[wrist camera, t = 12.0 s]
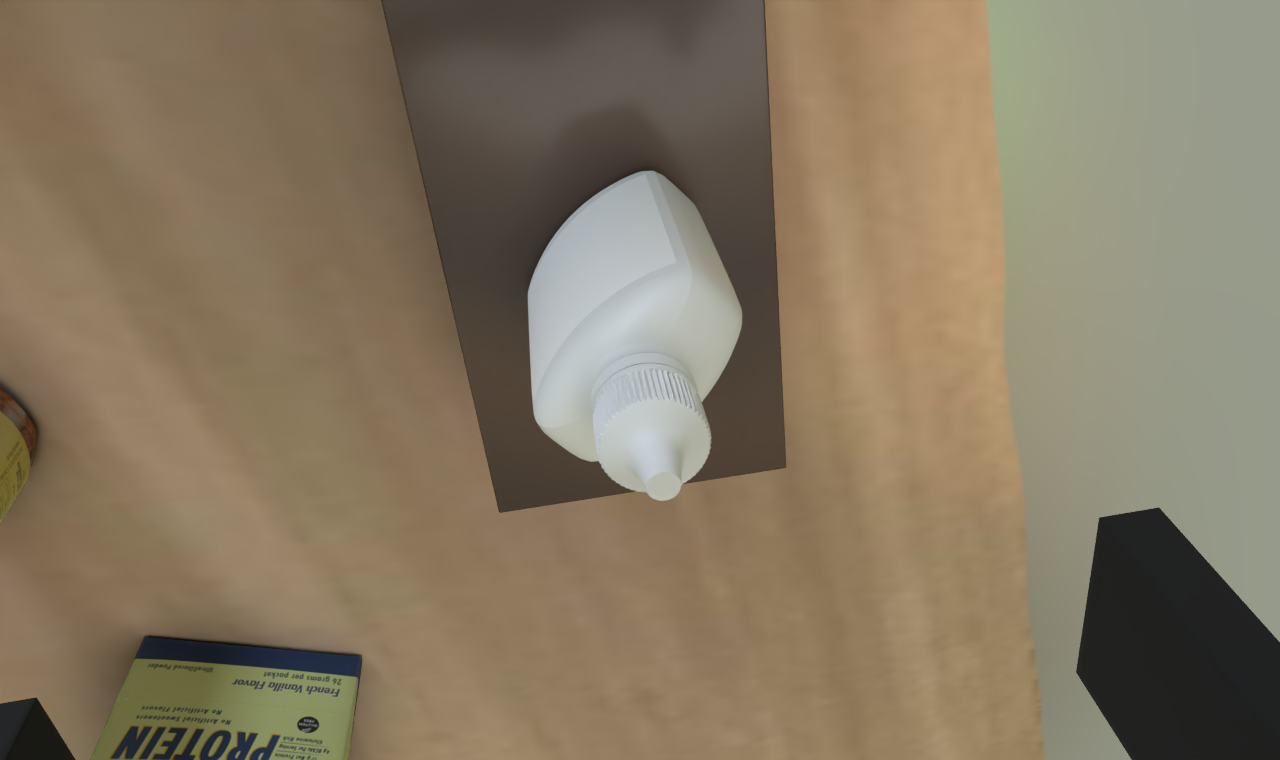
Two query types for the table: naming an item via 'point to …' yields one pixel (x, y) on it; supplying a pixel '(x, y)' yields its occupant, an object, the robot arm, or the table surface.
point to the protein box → (232, 704)
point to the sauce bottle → (14, 450)
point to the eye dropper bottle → (631, 334)
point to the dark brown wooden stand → (590, 191)
